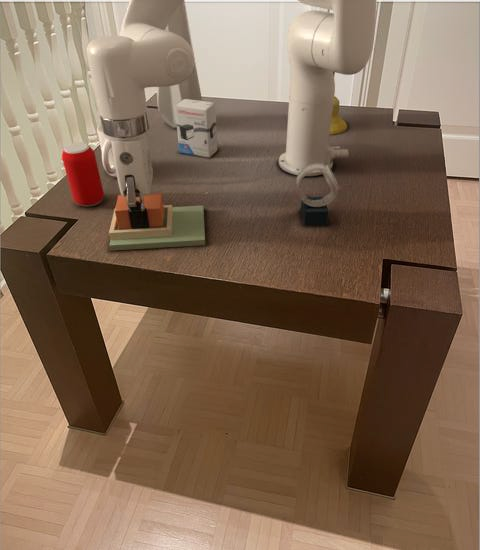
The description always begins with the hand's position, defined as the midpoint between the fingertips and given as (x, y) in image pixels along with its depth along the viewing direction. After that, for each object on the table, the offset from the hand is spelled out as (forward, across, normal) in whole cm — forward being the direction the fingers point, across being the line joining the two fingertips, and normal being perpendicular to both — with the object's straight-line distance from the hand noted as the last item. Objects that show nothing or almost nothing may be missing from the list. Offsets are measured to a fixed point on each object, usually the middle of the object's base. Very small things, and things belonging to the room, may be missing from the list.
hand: (141, 217), depth 85 cm
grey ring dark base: (+3, +1, -33) cm, 33 cm away
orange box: (0, 0, 0) cm, 0 cm away
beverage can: (+3, +12, +12) cm, 17 cm away
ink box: (+3, +34, -11) cm, 36 cm away
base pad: (+3, 0, -3) cm, 4 cm away
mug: (+3, +24, +7) cm, 25 cm away
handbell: (+3, +47, -46) cm, 66 cm away
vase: (+3, +53, -7) cm, 54 cm away
